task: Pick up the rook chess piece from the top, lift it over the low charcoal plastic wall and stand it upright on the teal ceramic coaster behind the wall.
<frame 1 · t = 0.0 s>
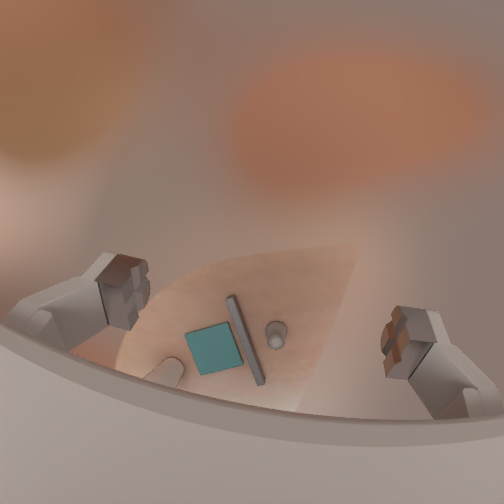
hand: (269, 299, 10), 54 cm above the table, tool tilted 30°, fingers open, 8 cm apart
drinking glass: (173, 367, 68), on the table
rook chess piece: (276, 330, 65), on the table
coaster: (214, 348, 66), on the table
low wall: (247, 339, 66), on the table
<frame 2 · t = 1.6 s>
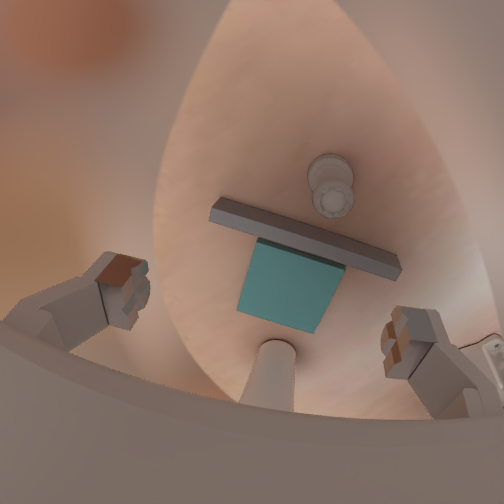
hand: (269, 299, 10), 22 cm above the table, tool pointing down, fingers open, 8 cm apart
drinking glass: (277, 350, 43), on the table
rook chess piece: (330, 174, 30), on the table
coaster: (288, 287, 37), on the table
low wall: (309, 232, 33), on the table
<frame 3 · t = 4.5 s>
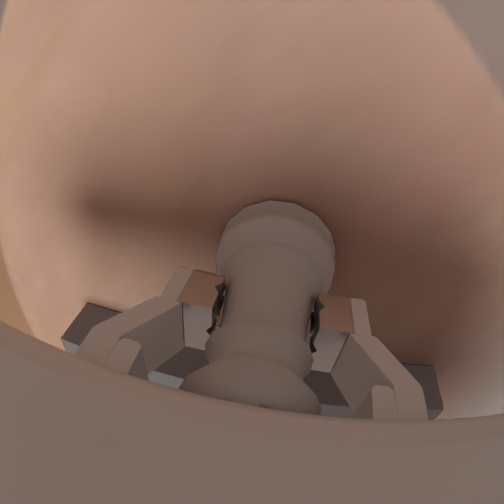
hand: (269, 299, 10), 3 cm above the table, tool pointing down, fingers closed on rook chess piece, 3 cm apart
rook chess piece: (278, 245, 13), on the table, touching gripper
low wall: (257, 354, 16), on the table
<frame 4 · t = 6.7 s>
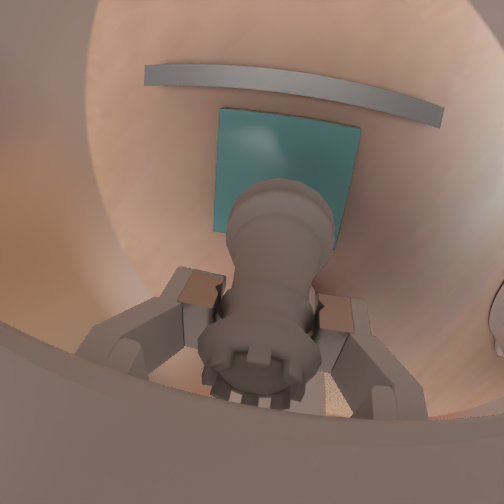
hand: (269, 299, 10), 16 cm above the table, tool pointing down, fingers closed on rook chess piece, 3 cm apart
drinking glass: (287, 291, 30), on the table
rook chess piece: (282, 219, 14), point 11 cm above the table, touching gripper
coaster: (282, 178, 24), on the table
low wall: (295, 82, 20), on the table
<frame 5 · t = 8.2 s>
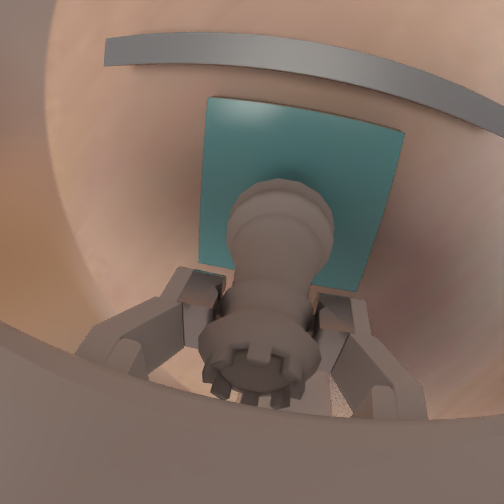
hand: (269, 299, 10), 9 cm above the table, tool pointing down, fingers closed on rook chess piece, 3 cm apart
drinking glass: (292, 336, 23), on the table
rook chess piece: (282, 220, 14), point 4 cm above the table, touching gripper
coaster: (292, 195, 18), on the table
low wall: (314, 63, 14), on the table
when the fingers open (6 cm above the table, at t = 9.1 s): rook chess piece stays where it is, resting on coaster.
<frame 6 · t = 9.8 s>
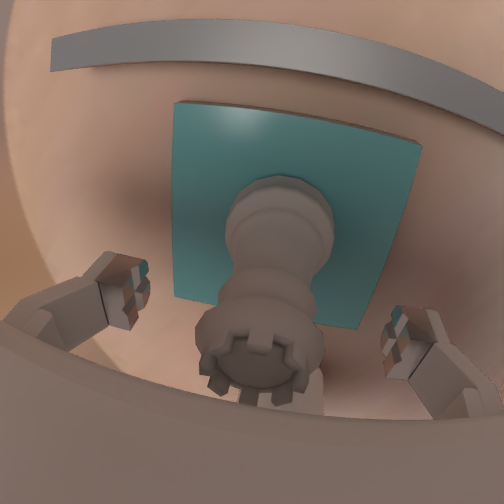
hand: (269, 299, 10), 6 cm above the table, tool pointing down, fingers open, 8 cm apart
drinking glass: (284, 369, 21), on the table
rook chess piece: (282, 219, 14), point 1 cm above the table, touching coaster
coaster: (282, 221, 15), on the table
low wall: (309, 56, 11), on the table
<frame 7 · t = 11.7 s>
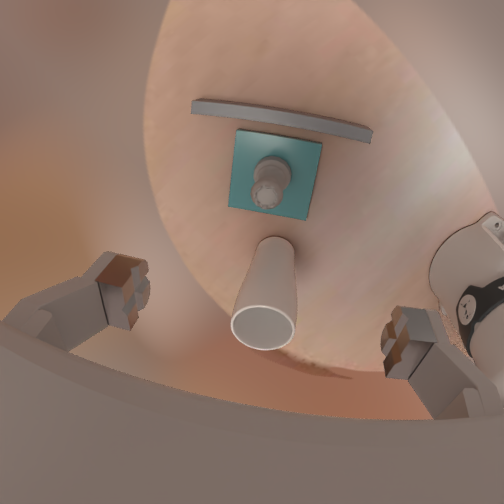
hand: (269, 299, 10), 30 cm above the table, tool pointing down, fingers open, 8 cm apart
drinking glass: (275, 250, 44), on the table
rook chess piece: (273, 172, 37), point 1 cm above the table, touching coaster
coaster: (273, 173, 38), on the table
low wall: (282, 114, 34), on the table
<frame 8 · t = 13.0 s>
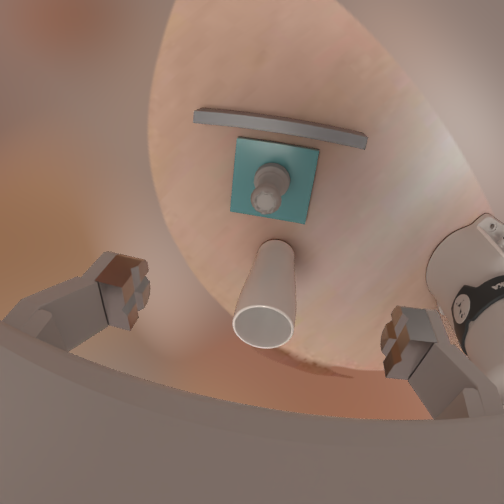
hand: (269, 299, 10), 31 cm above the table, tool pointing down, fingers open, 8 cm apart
drinking glass: (276, 253, 46), on the table
rook chess piece: (272, 178, 39), point 1 cm above the table, touching coaster
coaster: (273, 179, 40), on the table
low wall: (281, 122, 36), on the table
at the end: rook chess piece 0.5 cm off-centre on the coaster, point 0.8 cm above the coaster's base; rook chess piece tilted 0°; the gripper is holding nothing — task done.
